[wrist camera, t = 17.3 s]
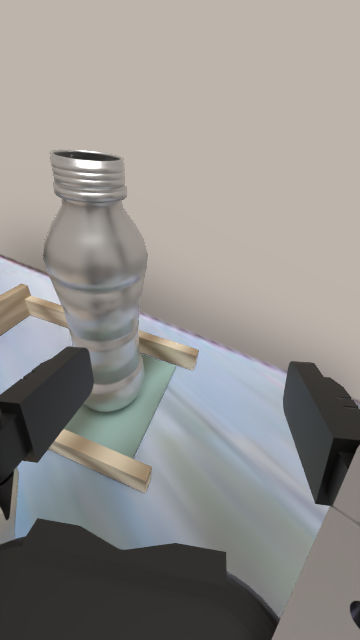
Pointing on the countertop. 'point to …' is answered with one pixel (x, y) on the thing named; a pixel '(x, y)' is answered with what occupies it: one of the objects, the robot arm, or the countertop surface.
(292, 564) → the countertop surface
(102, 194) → the plastic bottle
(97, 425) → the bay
